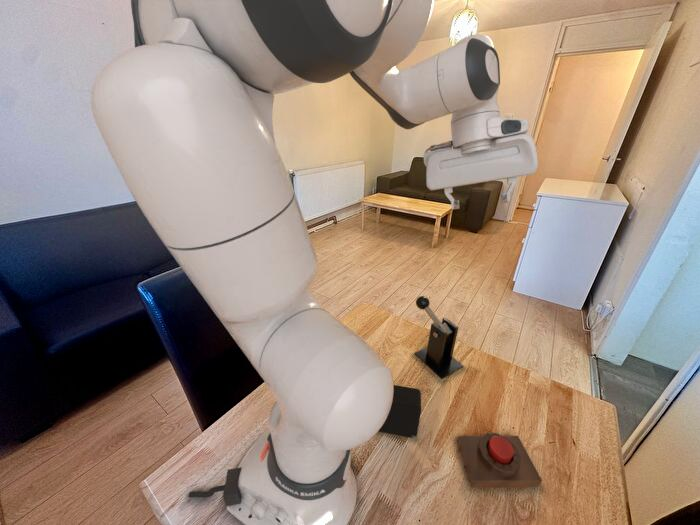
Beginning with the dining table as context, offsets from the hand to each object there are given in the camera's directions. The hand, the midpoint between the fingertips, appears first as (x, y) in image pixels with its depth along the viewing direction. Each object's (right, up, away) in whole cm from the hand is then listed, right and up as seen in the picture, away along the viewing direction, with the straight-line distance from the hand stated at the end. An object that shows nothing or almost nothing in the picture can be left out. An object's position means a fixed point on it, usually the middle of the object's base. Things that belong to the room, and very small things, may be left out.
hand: (479, 206), depth 58 cm
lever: (-6, -27, +17) cm, 32 cm away
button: (+1, -47, -6) cm, 47 cm away
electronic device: (-18, -47, +3) cm, 50 cm away
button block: (+1, -50, -4) cm, 50 cm away
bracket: (-3, -39, +18) cm, 43 cm away
